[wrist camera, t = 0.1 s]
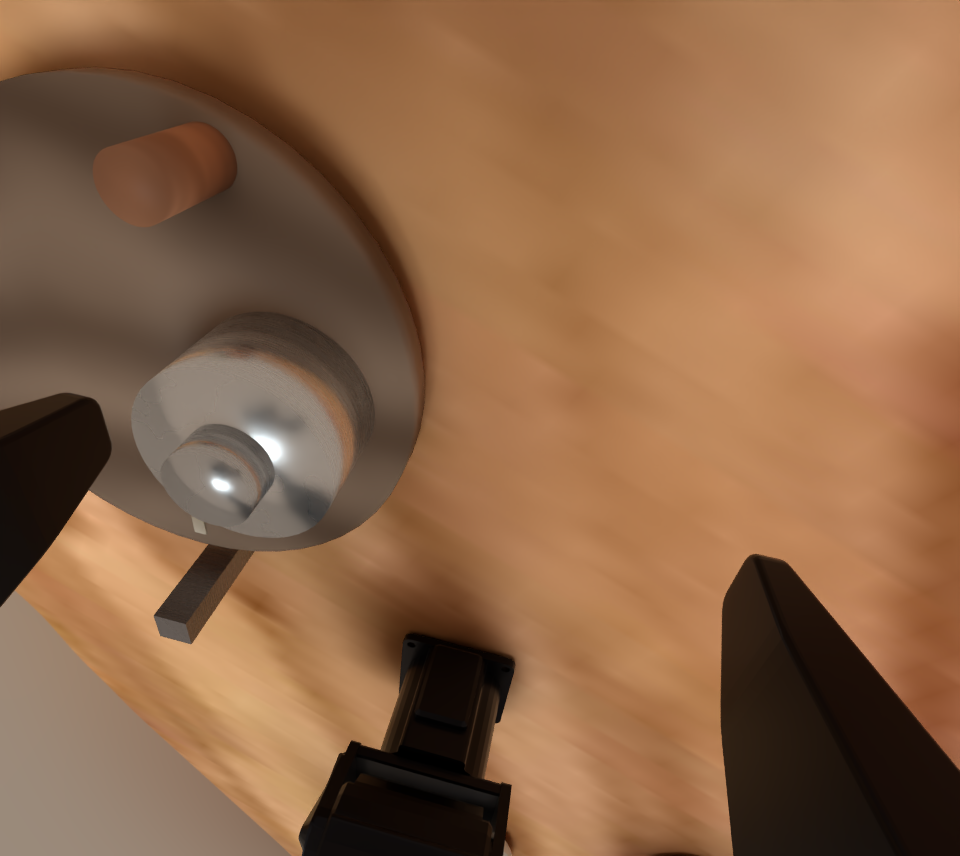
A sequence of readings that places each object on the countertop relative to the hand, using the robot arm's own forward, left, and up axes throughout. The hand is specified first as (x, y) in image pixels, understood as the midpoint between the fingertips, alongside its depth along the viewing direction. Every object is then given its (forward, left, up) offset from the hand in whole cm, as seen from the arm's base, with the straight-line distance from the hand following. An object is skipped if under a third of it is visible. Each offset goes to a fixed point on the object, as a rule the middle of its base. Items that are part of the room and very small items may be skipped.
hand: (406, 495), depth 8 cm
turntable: (-8, +13, -13) cm, 20 cm away
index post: (-21, +13, -14) cm, 28 cm away
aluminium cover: (-8, +8, -12) cm, 16 cm away
